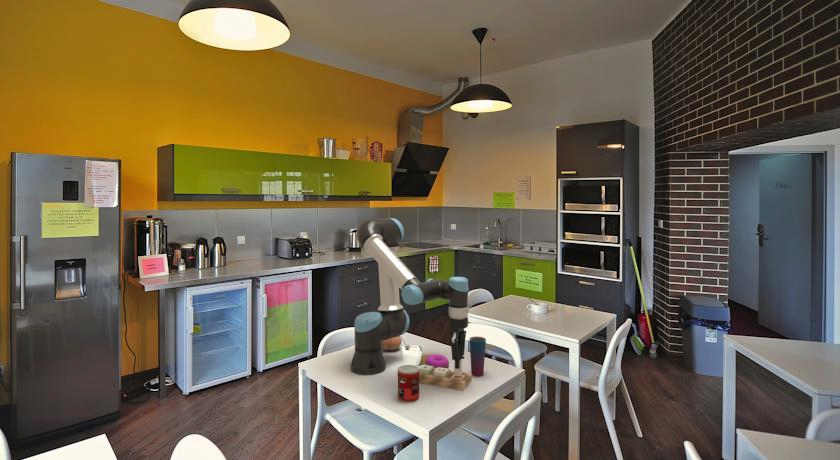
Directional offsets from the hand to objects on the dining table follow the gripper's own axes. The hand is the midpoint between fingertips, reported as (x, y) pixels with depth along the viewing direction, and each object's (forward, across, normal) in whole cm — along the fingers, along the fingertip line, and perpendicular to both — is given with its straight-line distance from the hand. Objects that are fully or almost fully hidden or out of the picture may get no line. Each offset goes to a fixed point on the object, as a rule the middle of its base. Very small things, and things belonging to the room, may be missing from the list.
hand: (458, 375), depth 177 cm
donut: (+4, +14, +15) cm, 21 cm away
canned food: (+4, -19, +13) cm, 23 cm away
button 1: (+1, 0, +14) cm, 14 cm away
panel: (+3, 0, +7) cm, 8 cm away
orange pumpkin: (+4, +26, +44) cm, 51 cm away
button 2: (+1, 0, +7) cm, 7 cm away
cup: (+4, +13, -4) cm, 14 cm away
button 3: (+3, 0, 0) cm, 3 cm away
